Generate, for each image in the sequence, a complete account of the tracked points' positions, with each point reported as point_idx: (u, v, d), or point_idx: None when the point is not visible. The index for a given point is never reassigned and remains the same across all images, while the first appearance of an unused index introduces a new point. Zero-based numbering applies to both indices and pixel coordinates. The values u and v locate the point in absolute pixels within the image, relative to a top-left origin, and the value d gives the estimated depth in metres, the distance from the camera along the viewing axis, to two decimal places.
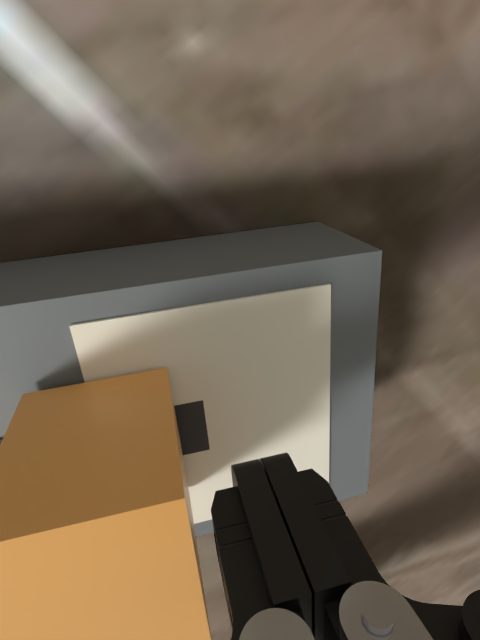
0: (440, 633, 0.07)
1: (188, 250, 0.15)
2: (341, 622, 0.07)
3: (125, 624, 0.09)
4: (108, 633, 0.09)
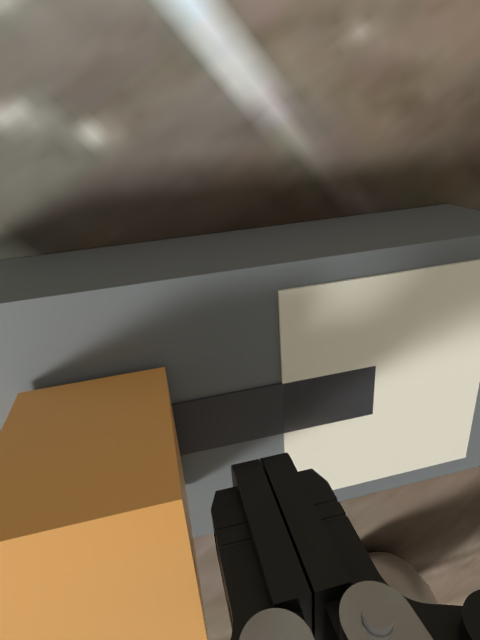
0: (440, 633, 0.07)
1: (347, 227, 0.15)
2: (341, 622, 0.07)
3: (121, 627, 0.09)
4: (103, 636, 0.09)
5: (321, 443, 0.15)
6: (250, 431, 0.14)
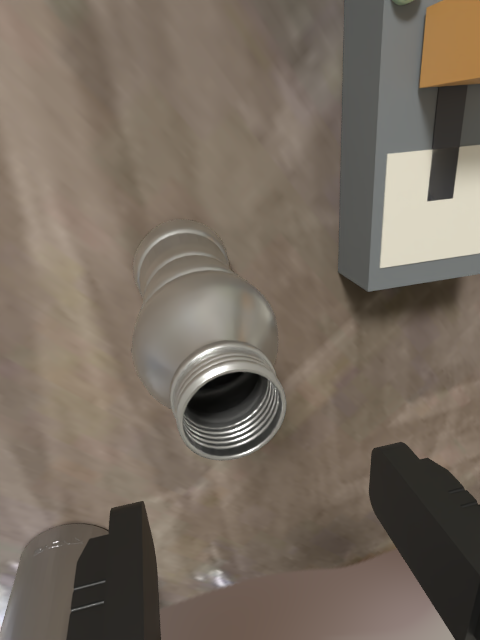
0: None
1: None
2: None
3: None
4: None
5: (417, 173, 0.28)
6: (439, 129, 0.27)
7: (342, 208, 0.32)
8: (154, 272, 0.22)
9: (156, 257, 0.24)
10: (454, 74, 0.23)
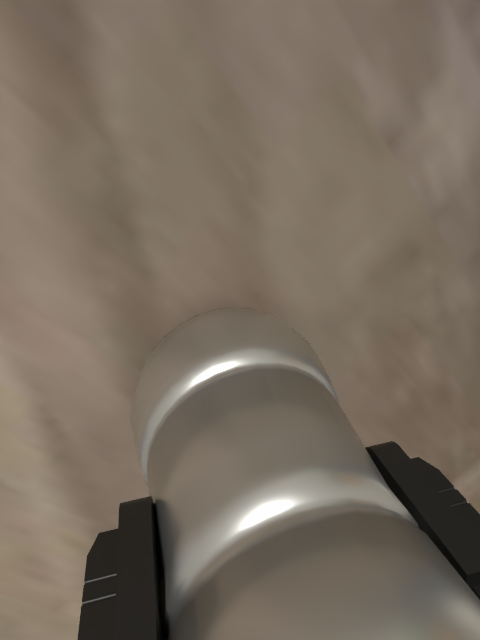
0: None
1: None
2: None
3: None
4: None
5: None
6: None
7: None
8: (199, 554, 0.07)
9: (195, 462, 0.09)
10: None
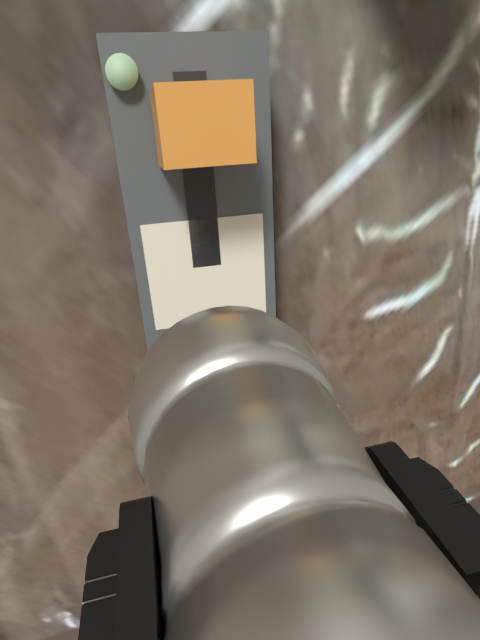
0: None
1: None
2: None
3: (197, 132, 0.22)
4: (194, 124, 0.21)
5: (177, 242, 0.29)
6: (192, 202, 0.28)
7: None
8: (195, 551, 0.07)
9: (192, 459, 0.09)
10: (160, 161, 0.23)
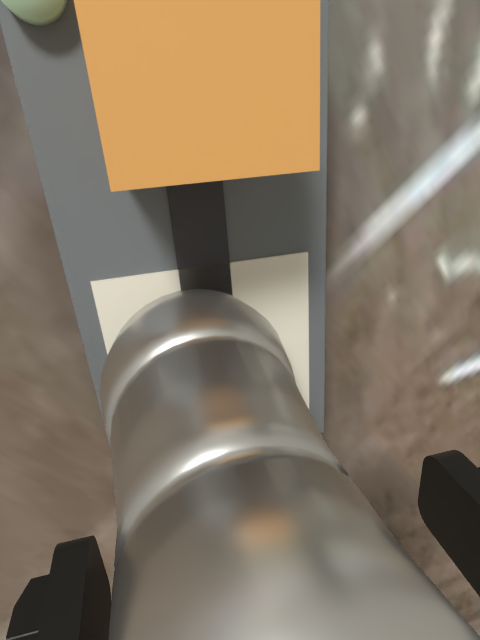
0: None
1: None
2: None
3: (186, 102, 0.09)
4: (178, 83, 0.09)
5: None
6: (183, 237, 0.15)
7: None
8: (144, 497, 0.08)
9: (148, 421, 0.10)
10: None
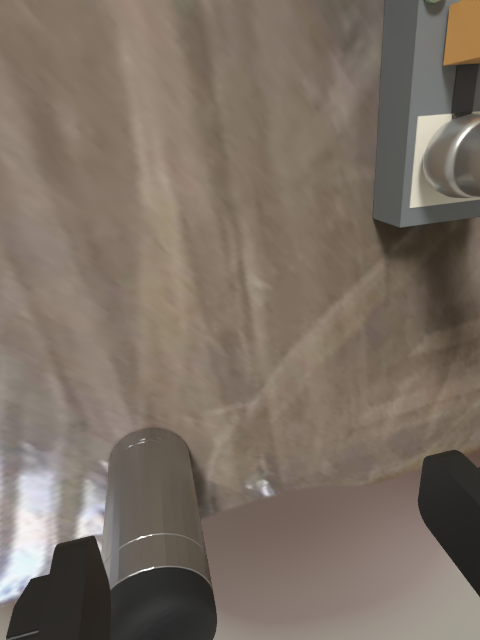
0: None
1: None
2: None
3: None
4: None
5: None
6: (457, 97, 0.36)
7: (378, 164, 0.41)
8: None
9: None
10: (470, 53, 0.31)
